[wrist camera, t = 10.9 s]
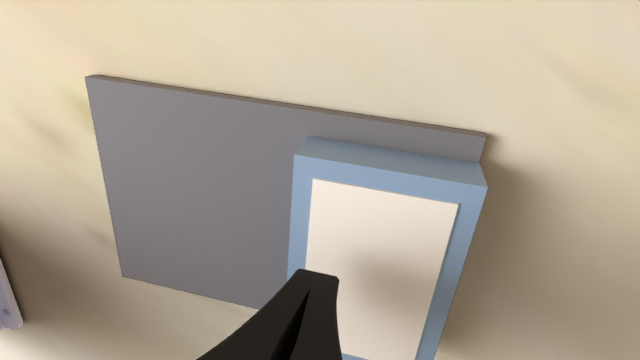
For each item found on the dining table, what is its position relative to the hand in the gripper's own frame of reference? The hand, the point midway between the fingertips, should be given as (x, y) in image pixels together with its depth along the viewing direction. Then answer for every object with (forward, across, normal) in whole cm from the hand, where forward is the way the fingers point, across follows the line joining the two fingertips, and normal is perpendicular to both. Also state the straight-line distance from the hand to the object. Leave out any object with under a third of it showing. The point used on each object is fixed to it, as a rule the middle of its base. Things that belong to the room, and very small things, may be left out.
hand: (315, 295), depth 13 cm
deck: (+3, +1, 0) cm, 3 cm away
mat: (+4, +3, 0) cm, 5 cm away
